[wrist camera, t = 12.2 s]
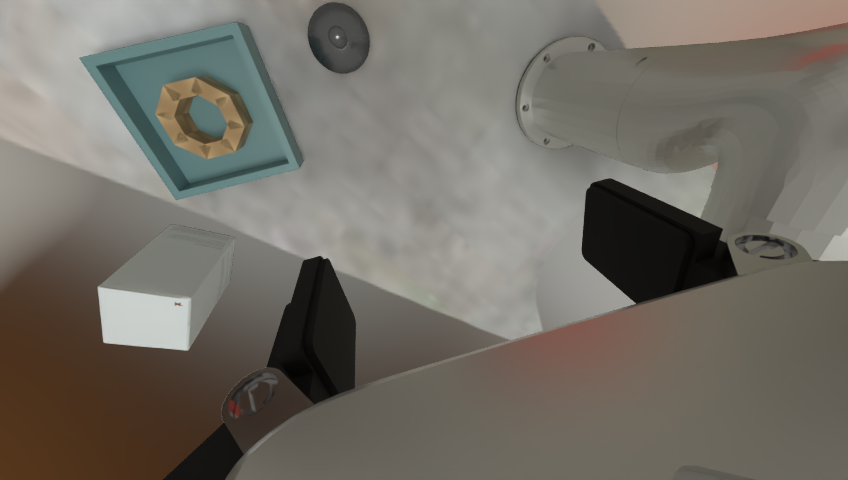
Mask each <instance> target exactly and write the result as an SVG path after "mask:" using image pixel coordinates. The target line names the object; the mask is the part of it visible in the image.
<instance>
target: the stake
mask: <svg viewBox="0 0 848 480" xmlns="http://www.w3.org/2000/svg"><path fill="white" fill-rule="evenodd" d="M308 39H309V44H310V47H311V50H312V52H313V54H314V56H315V57H316V59H317V60H318V61H319V62H320V63H321V64H322V65H323V66H324V67H326V68H327V69H329V70H331V71H333V72H337V73H349V72H353V71H355V70H356V69H358V68H359V67H360V66H361V65H362V64H363V63H364V61H365V60H366V57H367V55H368V52H369V34H368V30H367V27H366V25H365V23H364V21H363V20H362V18H361V17H360V15H359V14H358V13H357V12H356V11H355V10H353V9H352V8H350V7H349V6H347V5H345V4H342V3H327V4H325V5H323V6H321V7H319V8H318V9H317V10H316V11H315V12H314V14H313V15H312V17H311V19H310V22H309V27H308Z"/></svg>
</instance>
